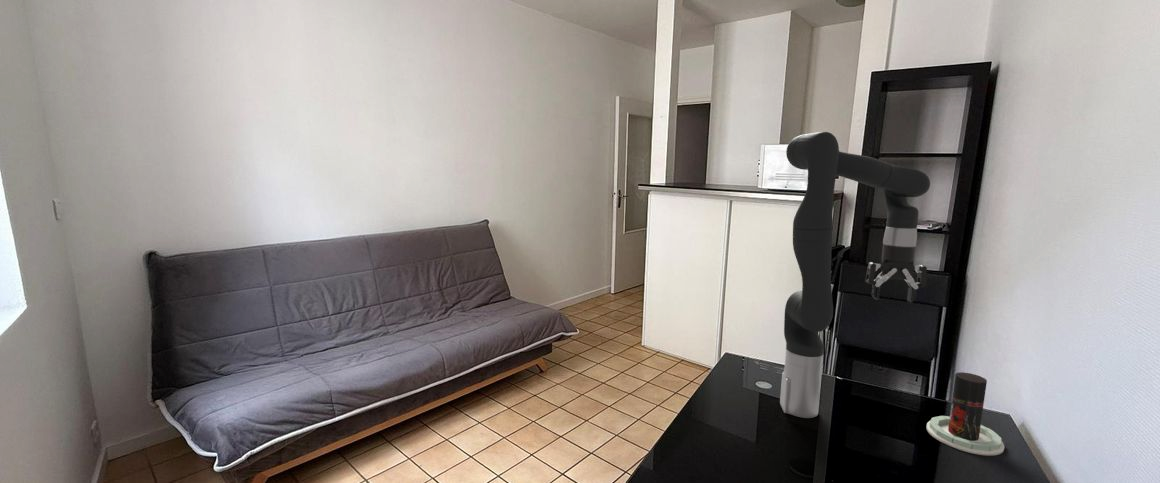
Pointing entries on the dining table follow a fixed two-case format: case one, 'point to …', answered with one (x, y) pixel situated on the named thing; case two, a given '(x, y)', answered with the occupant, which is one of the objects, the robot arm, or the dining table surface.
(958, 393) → the deodorant
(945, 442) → the round plate
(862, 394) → the dining table surface
